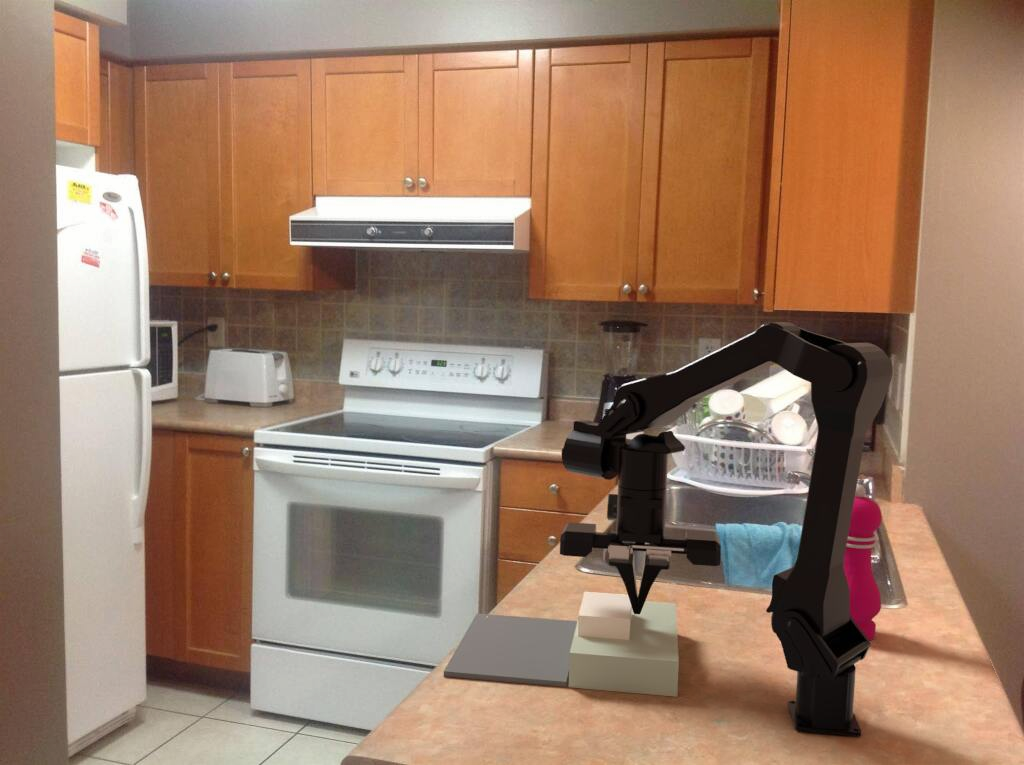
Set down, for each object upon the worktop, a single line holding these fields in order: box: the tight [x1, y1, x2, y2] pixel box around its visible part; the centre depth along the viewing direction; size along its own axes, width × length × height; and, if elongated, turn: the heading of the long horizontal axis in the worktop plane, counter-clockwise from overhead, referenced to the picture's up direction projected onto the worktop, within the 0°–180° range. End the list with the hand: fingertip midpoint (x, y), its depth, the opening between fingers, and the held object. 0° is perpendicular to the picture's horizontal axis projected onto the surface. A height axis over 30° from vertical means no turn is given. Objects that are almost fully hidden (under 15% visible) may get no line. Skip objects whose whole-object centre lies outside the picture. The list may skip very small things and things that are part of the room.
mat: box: [443, 613, 578, 688], centre depth 117 cm, size 20×14×1 cm
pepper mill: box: [844, 484, 883, 642], centre depth 125 cm, size 7×7×20 cm
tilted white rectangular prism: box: [577, 591, 632, 640], centre depth 115 cm, size 9×6×2 cm, turn 171°
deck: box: [568, 600, 680, 698], centre depth 115 cm, size 20×12×4 cm, turn 171°
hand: (637, 613), depth 115 cm, fingers closed
